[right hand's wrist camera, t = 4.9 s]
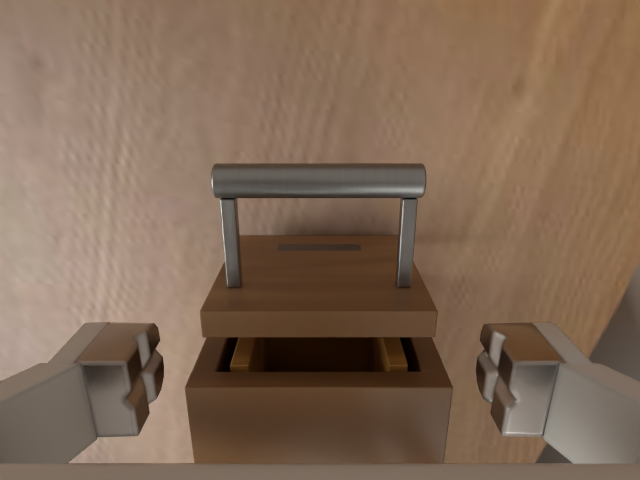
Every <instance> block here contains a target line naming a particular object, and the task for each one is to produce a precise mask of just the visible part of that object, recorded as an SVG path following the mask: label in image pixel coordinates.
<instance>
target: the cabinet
mask: <svg viewBox="0 0 640 480" xmlns="http://www.w3.org/2000/svg"><path fill="white" fill-rule="evenodd" d="M238 338H239V337H207V338H206V340H205V342H204V345H203V347H202V349H201V352H200V354H199V356H198V359H197V361H196V364H195V366H194V368H193V371H192V372H191V375H190V377H189V379H188V382H187V384H186V386H185V394H186V401H187V409H188V417H189V424H190V432H191V440H192V448H193V455H194V463H444V455H445V447H446V439H447V431H448V423H449V415H450V407H451V399H452V391H453V387H452V384H451V382H450V379H449V377H448V375H447V372H446V370H445V368H444V365H443V363H442V361H441V358H440V356H439V354H438V351H437V349H436V346H435V344H434V342H433V339H432V337H399V338H400V341H401V344H402V348H403V351H404V354H405V358H406V361H407V364H408V370H407V372H231V370H230V364H231V361H232V358H233V355H234V351H235V348H236V345H237V341H238Z"/></svg>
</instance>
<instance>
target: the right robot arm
mask: <svg viewBox="0 0 640 480" xmlns="http://www.w3.org/2000/svg"><path fill="white" fill-rule="evenodd" d="M159 341H160V337H159V331H158V327H157V326H156V325H155V324H154V323H110V322H91V323H85V324H84V325H83V326H82V327H81V328H80V329H79V330H78V331H77V332H76V334H75V335H74V336H73V337H72V338H71V339H70V340H69V341H68V342H67V343H66V344H65V345H64V346H63V347H62V348H61V350H60V351H59V352H58V353H57V354H56V355H55V356H54V357H53V358H52V359H51V360H50V361H49V362H48V363H40V364H38V365H36V366H33V367H31V368H29V369H27V370H25V371H22V372H20V373H18V374H16V375H14V376H11V377H9V378H7V379H5V380H3V381H0V480H640V382H639V381H637V380H635V379H633V378H631V377H628V376H626V375H624V374H622V373H620V372H618V371H615V370H613V369H611V368H609V367H607V366H604V365H602V364H600V363H592V362H591V361H590V360H589V359H588V358H587V357H586V356H585V355H584V354H583V353H582V352H581V350H580V349H579V348H578V347H577V346H576V345H575V344H574V343H573V342H572V341H571V340H570V339H569V338H568V337H567V336H566V334H565V333H564V332H563V331H562V330H561V329H560V328H559V327H558V326H557V325H556V324H554V323H552V322H538V323H500V324H484V326H483V328H482V330H481V336H480V341H481V343H482V345H483V346H484V348H485V350H484V351H483V352H482V353H481V354H480V355H479V356H478V357H477V365H476V375H477V383H478V387H479V390H480V393H481V395H482V397H483V399H485V400H486V401H488V402H489V403H491V404H492V407H491V415H492V417H493V419H494V421H495V423H496V425H497V427H498V429H499V431H500V433H501V435H502V436H520V437H543V439H544V440H545V441H546V442H547V443H549V444H550V445H551V446H552V447H554V448H555V449H556V450H557V451H559V452H560V453H561V454H562V455H563V456H565V457H566V458H567V459H568V460H570V461H571V462H572V463H68V462H69V461H71V460H72V459H73V458H74V457H76V456H77V455H78V454H79V453H80V452H82V451H83V450H84V449H85V448H87V447H88V446H89V445H90V444H92V443H93V442H94V441H95V440H97V437H119V436H138V435H139V433H140V431H141V429H142V427H143V425H144V423H145V421H146V419H147V417H148V415H149V406H148V404H149V403H151V402H152V401H154V400H155V399H157V397H158V395H159V393H160V390H161V387H162V382H163V378H164V364H163V357H162V356H161V355H160V354H159V353H158V352H157V351H156V349H155V348H156V347H157V345H158V343H159Z"/></svg>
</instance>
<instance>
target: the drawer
mask: <svg viewBox="0 0 640 480" xmlns="http://www.w3.org/2000/svg"><path fill="white" fill-rule="evenodd" d="M211 186H212V192H213V194H214V196H215V197H216V198H221V199H220V208H221V220H222V232H223V245H224V257H225V262H224V264H223V266H222V268H221V270H220V272H219V274H218V276H217V278H216V280H215V282H214V284H213V286H212V288H211V290H210V292H209V294H208V296H207V298H206V300H205V302H204V304H203V306H202V308H201V310H200V318H201V327H202V336H203V337H239V338H238V341H237V345H236V348H235V351H234V355H233V358H232V361H231V364H230V370H231V372H407V370H408V364H407V361H406V358H405V354H404V351H403V348H402V344H401V341H400V338H399V337H435V333H436V324H437V314H438V311H437V309H436V307H435V305H434V303H433V301H432V299H431V297H430V295H429V292H428V290H427V288H426V286H425V284H424V282H423V280H422V278H421V276H420V274H419V272H418V270H417V268H416V266H415V264H414V262H413V253H414V240H415V227H416V214H417V201H418V200H417V199H416V198H421V197H423V195H424V193H425V189H426V170H425V166H424V165H423V164H214V165H213V168H212V172H211ZM237 198H401V200H400V216H399V231H398V235H239V222H238V207H237Z"/></svg>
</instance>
